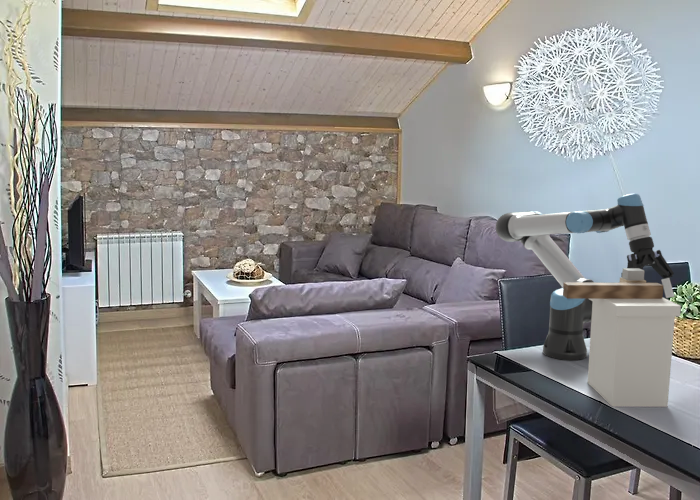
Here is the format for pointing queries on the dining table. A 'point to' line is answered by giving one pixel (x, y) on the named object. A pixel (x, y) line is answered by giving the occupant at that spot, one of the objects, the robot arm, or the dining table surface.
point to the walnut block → (612, 290)
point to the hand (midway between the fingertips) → (656, 300)
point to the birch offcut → (631, 281)
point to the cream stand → (632, 350)
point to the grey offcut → (633, 274)
